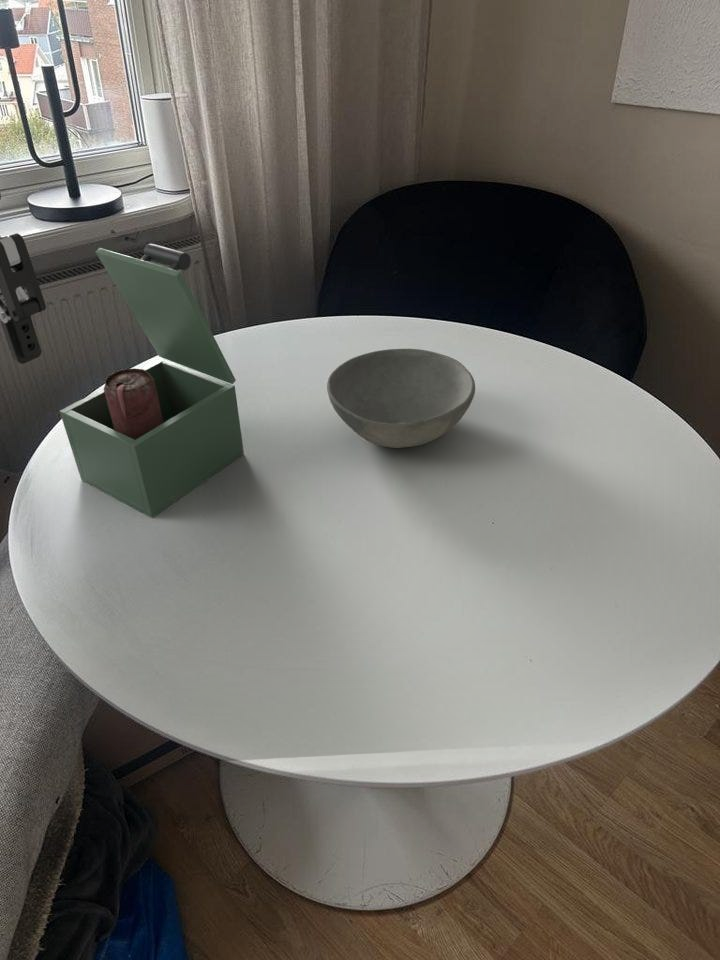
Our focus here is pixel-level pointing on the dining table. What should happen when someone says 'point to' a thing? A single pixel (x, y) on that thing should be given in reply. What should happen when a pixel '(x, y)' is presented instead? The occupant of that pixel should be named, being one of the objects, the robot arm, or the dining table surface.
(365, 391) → the bowl
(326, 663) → the dining table surface
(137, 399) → the can
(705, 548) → the dining table surface
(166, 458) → the chest
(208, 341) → the lid
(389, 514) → the dining table surface
